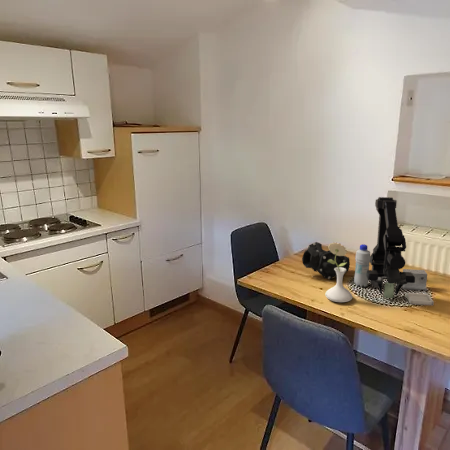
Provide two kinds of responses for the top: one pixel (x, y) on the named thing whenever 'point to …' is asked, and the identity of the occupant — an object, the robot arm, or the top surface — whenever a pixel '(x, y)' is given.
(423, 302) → the tray
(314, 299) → the top surface
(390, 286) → the pale green rounded cylinder
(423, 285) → the block
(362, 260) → the bottle
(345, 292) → the flower in vase
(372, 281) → the grey block
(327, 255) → the valve
